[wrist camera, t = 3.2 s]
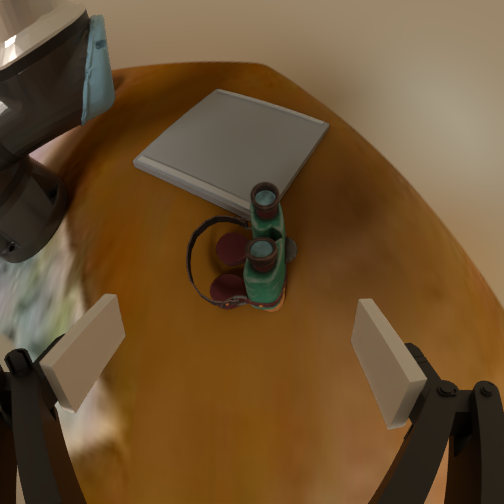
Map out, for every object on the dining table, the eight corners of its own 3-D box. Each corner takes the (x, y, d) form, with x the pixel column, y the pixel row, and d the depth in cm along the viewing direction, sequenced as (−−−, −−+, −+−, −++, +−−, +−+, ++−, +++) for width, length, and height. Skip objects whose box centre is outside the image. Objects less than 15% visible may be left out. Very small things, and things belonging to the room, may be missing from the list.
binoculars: (173, 174, 23) (297, 170, 21) (205, 238, 32) (296, 239, 31) (146, 275, 19) (298, 280, 17) (192, 317, 28) (294, 322, 26)
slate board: (135, 167, 36) (131, 159, 35) (217, 94, 44) (217, 87, 43) (262, 227, 32) (262, 219, 30) (328, 130, 39) (330, 122, 38)
